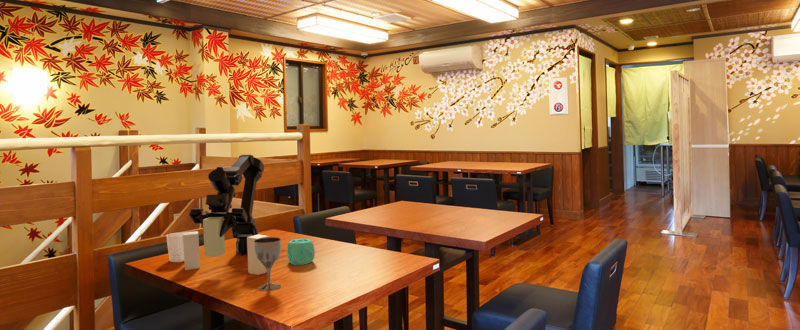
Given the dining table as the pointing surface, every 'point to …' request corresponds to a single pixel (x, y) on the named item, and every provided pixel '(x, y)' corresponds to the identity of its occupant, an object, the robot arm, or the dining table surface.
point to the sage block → (213, 237)
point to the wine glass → (268, 257)
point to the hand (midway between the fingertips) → (212, 236)
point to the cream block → (254, 256)
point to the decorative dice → (300, 251)
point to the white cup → (175, 247)
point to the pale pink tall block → (191, 250)
